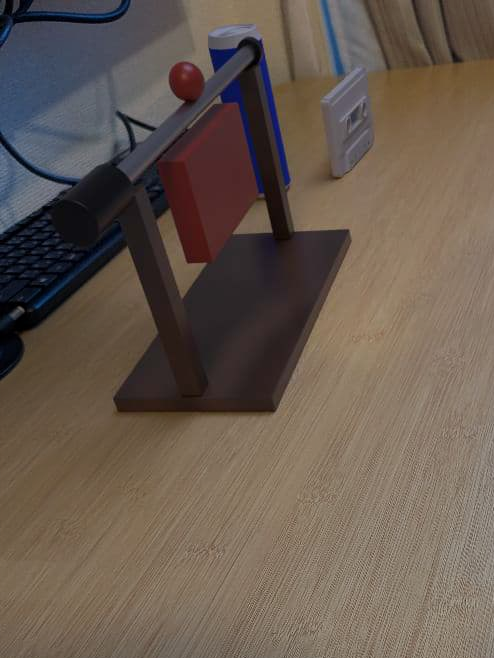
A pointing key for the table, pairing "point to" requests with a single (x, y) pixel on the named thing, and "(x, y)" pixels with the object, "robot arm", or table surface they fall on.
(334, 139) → the cassette
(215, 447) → the table surface
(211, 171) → the foosball rod
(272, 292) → the rod stand
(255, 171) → the beverage can
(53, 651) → the table surface
